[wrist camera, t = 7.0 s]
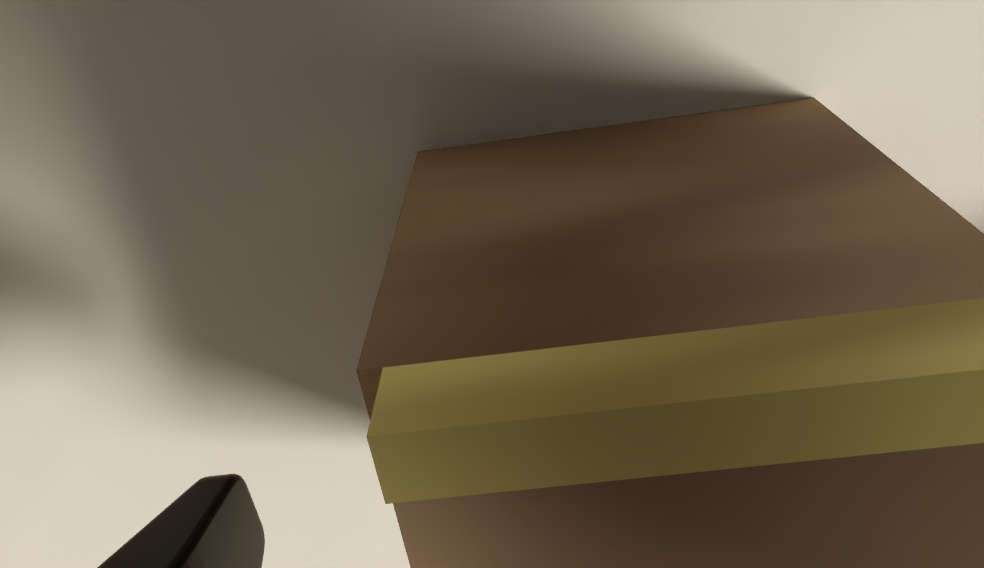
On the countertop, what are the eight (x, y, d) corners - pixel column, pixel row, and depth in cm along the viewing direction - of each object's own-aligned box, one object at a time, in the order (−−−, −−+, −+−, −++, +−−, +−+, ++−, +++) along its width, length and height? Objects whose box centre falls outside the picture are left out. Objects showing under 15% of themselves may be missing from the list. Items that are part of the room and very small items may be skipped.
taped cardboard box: (812, 95, 10) (1132, 352, 5) (797, 413, 12) (1004, 810, 7) (418, 149, 10) (337, 439, 5) (477, 447, 13) (460, 846, 8)
